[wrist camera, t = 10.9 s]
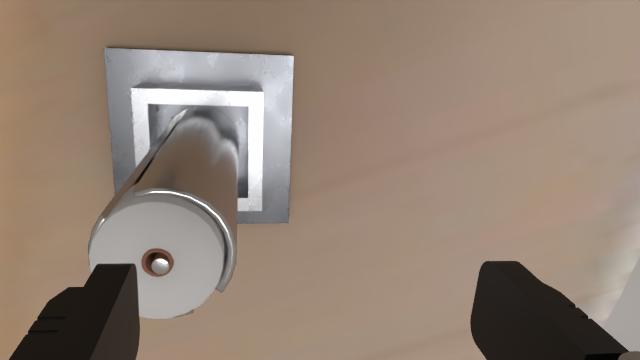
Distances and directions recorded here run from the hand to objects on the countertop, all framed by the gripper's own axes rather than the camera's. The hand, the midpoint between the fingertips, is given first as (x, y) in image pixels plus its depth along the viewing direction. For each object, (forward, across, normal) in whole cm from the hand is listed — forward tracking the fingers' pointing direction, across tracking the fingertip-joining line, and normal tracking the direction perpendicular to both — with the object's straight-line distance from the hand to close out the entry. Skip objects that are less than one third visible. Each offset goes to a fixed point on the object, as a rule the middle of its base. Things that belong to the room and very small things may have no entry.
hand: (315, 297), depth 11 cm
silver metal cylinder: (+35, +5, +5) cm, 36 cm away
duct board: (+36, +5, +5) cm, 37 cm away
